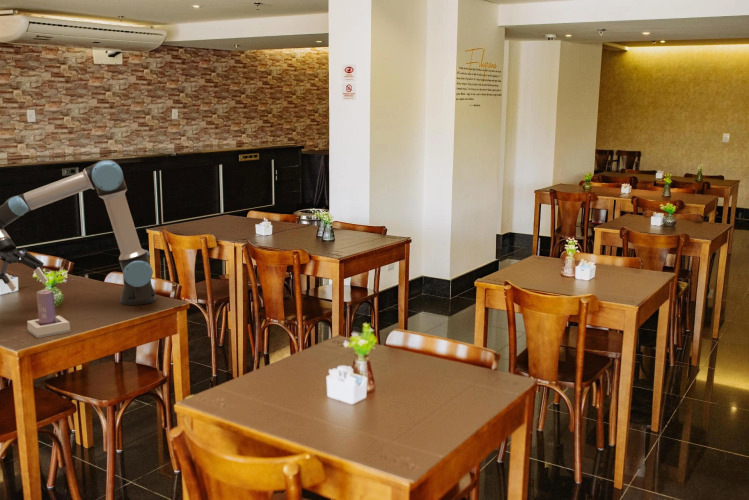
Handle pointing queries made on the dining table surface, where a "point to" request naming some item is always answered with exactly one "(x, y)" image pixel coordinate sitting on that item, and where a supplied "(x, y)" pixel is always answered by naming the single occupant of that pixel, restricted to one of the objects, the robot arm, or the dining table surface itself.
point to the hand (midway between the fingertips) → (30, 285)
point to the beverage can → (46, 307)
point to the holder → (48, 327)
